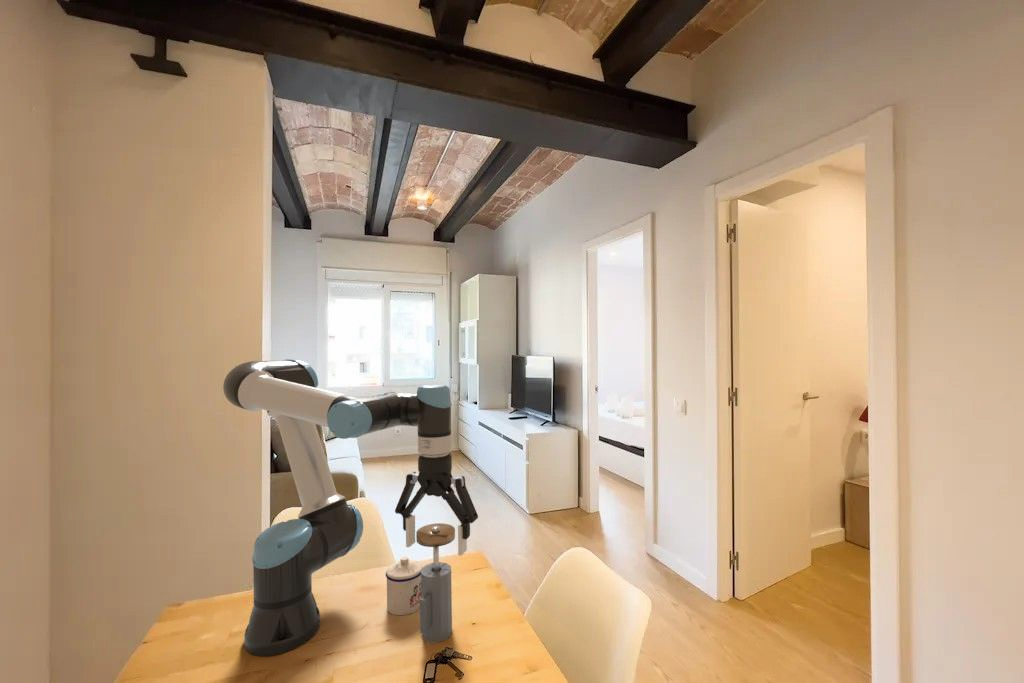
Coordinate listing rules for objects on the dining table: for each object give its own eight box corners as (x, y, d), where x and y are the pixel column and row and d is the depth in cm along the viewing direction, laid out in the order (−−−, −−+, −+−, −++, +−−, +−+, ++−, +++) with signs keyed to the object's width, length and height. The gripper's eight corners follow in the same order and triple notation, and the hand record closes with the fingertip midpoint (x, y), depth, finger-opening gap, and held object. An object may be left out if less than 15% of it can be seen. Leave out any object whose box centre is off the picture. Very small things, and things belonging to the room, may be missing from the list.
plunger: (409, 599, 95) (408, 532, 95) (429, 579, 103) (428, 518, 103) (444, 606, 92) (443, 537, 92) (462, 585, 100) (461, 522, 100)
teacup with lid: (416, 617, 102) (416, 568, 103) (379, 615, 103) (379, 566, 104) (431, 589, 114) (431, 545, 115) (398, 588, 115) (397, 544, 116)
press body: (409, 646, 92) (408, 580, 93) (431, 620, 101) (430, 560, 102) (436, 653, 90) (435, 586, 90) (456, 626, 99) (456, 564, 99)
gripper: (378, 453, 98) (379, 548, 98) (478, 461, 90) (479, 564, 90) (397, 446, 105) (398, 534, 105) (491, 453, 97) (493, 548, 97)
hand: (436, 548), depth 97 cm, fingers open, 12 cm apart
